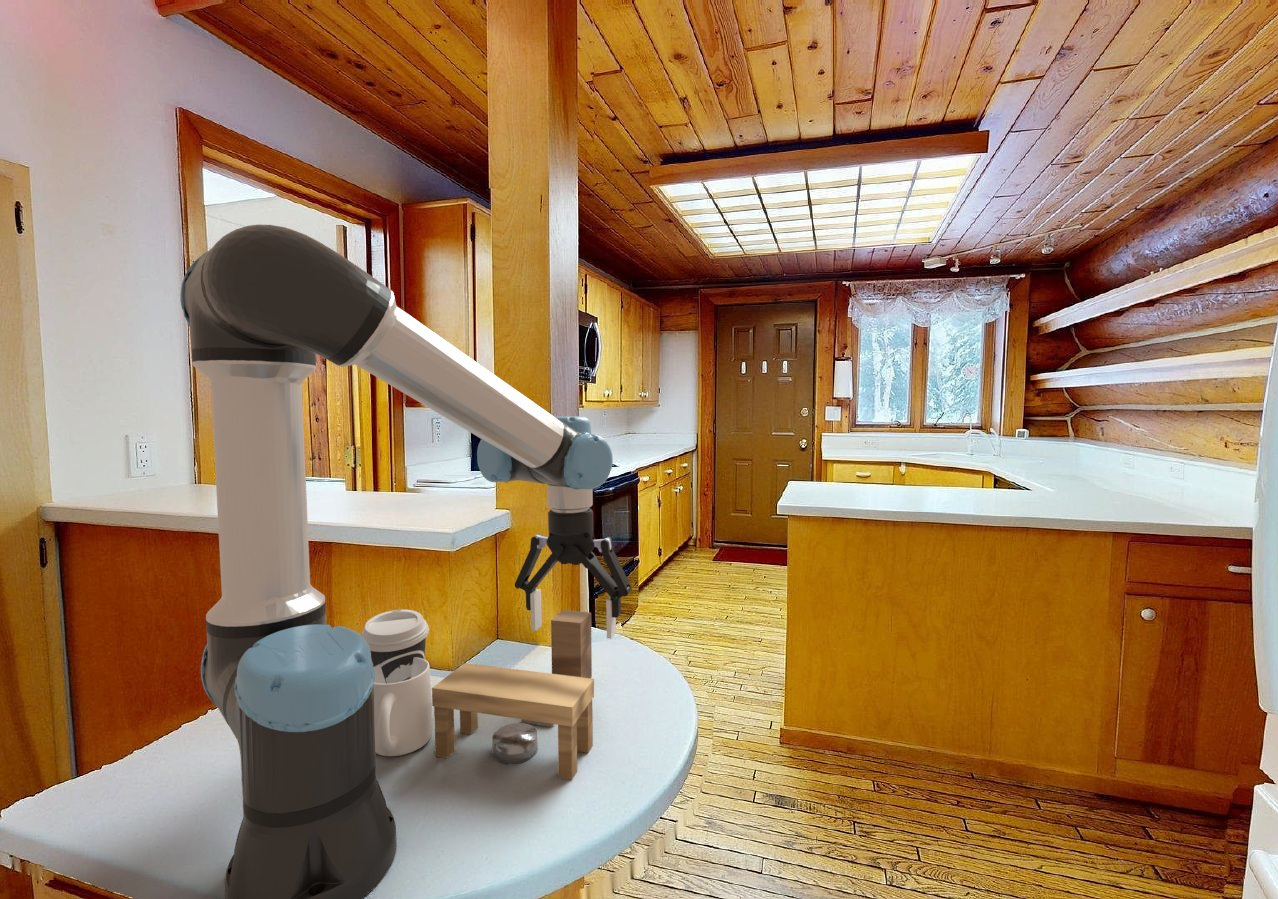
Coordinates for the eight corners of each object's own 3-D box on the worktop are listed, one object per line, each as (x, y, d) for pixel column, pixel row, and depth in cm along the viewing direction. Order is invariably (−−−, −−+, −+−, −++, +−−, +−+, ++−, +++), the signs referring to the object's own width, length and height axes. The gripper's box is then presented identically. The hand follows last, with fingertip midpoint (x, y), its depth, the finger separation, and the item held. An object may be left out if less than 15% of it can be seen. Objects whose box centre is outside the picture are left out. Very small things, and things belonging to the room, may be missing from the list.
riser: (573, 780, 74) (572, 707, 73) (433, 756, 79) (431, 688, 78) (594, 745, 81) (593, 678, 81) (466, 725, 87) (464, 663, 86)
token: (525, 768, 76) (525, 750, 76) (484, 762, 78) (483, 744, 78) (544, 743, 82) (544, 726, 82) (505, 737, 84) (505, 720, 84)
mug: (417, 773, 75) (412, 696, 74) (350, 779, 74) (344, 701, 73) (440, 722, 87) (435, 654, 86) (382, 726, 86) (377, 659, 85)
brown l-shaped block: (553, 727, 86) (552, 650, 85) (521, 722, 88) (519, 647, 87) (591, 677, 102) (591, 612, 101) (563, 673, 104) (563, 610, 103)
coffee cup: (443, 696, 94) (439, 609, 91) (415, 736, 84) (409, 640, 81) (386, 691, 95) (380, 605, 92) (352, 730, 85) (344, 635, 82)
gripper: (648, 507, 99) (649, 629, 100) (513, 502, 105) (516, 617, 107) (636, 515, 91) (638, 647, 93) (492, 510, 98) (496, 633, 100)
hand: (573, 632), depth 100 cm, fingers open, 13 cm apart
